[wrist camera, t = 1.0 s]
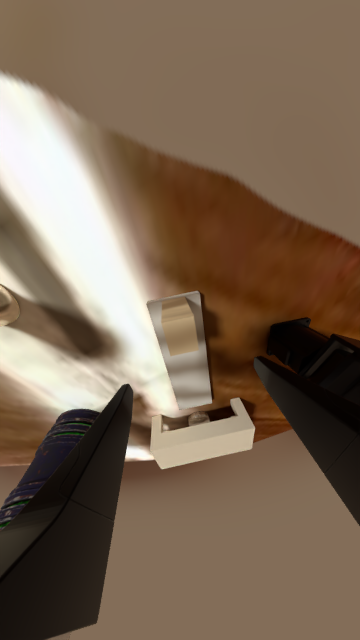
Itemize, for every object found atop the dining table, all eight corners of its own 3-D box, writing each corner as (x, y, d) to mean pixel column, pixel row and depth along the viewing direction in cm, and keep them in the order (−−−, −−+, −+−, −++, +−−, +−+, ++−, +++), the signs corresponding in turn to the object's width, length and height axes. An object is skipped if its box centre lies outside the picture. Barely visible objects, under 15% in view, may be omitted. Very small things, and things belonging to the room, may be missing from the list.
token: (207, 408, 32) (209, 415, 31) (208, 419, 34) (210, 426, 33) (186, 412, 32) (187, 419, 31) (189, 423, 34) (190, 430, 33)
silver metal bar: (147, 300, 19) (139, 327, 12) (197, 290, 19) (215, 311, 12) (178, 402, 30) (183, 446, 23) (209, 395, 30) (223, 437, 23)
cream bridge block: (239, 397, 31) (255, 427, 26) (238, 418, 35) (251, 448, 30) (152, 416, 31) (150, 451, 25) (161, 435, 35) (161, 469, 29)
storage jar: (116, 416, 29) (78, 553, 16) (97, 438, 32) (51, 570, 19) (65, 403, 26) (-38, 564, 12) (49, 429, 29) (-48, 582, 15)
